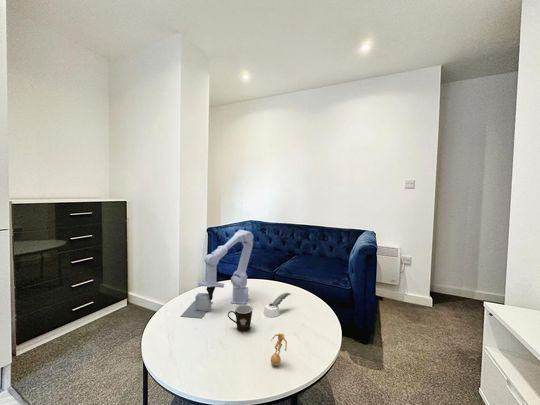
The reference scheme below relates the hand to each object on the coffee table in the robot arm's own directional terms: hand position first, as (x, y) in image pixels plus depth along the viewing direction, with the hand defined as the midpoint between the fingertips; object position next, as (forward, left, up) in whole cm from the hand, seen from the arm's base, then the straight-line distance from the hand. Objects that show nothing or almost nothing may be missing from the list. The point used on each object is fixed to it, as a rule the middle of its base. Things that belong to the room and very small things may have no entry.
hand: (210, 299), depth 134 cm
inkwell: (-38, -5, -7) cm, 39 cm away
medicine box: (+4, 0, -7) cm, 8 cm away
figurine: (-41, +36, -7) cm, 55 cm away
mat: (+8, 0, -7) cm, 10 cm away
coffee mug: (-21, +14, -7) cm, 26 cm away
